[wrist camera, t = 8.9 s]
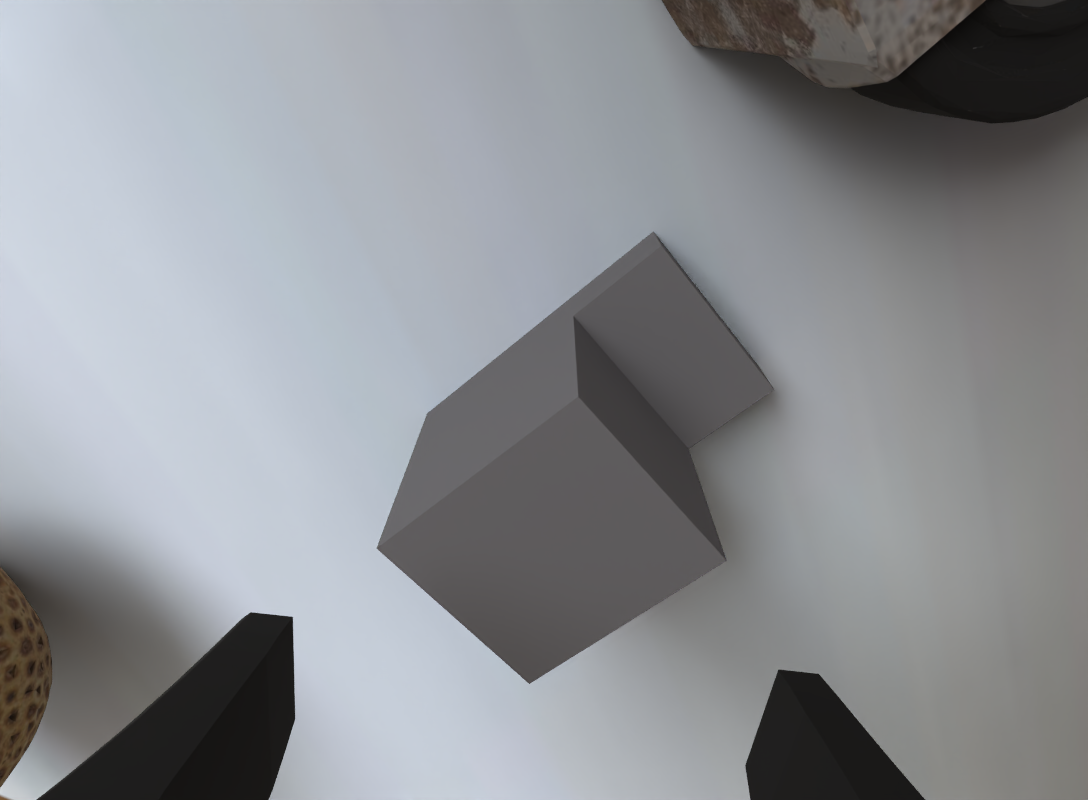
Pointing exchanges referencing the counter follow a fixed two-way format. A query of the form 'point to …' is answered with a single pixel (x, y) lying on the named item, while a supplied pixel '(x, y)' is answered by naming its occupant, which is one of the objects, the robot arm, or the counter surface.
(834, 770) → the robot arm
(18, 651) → the natural sponge
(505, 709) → the counter surface
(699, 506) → the stepped grey block
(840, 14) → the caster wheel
